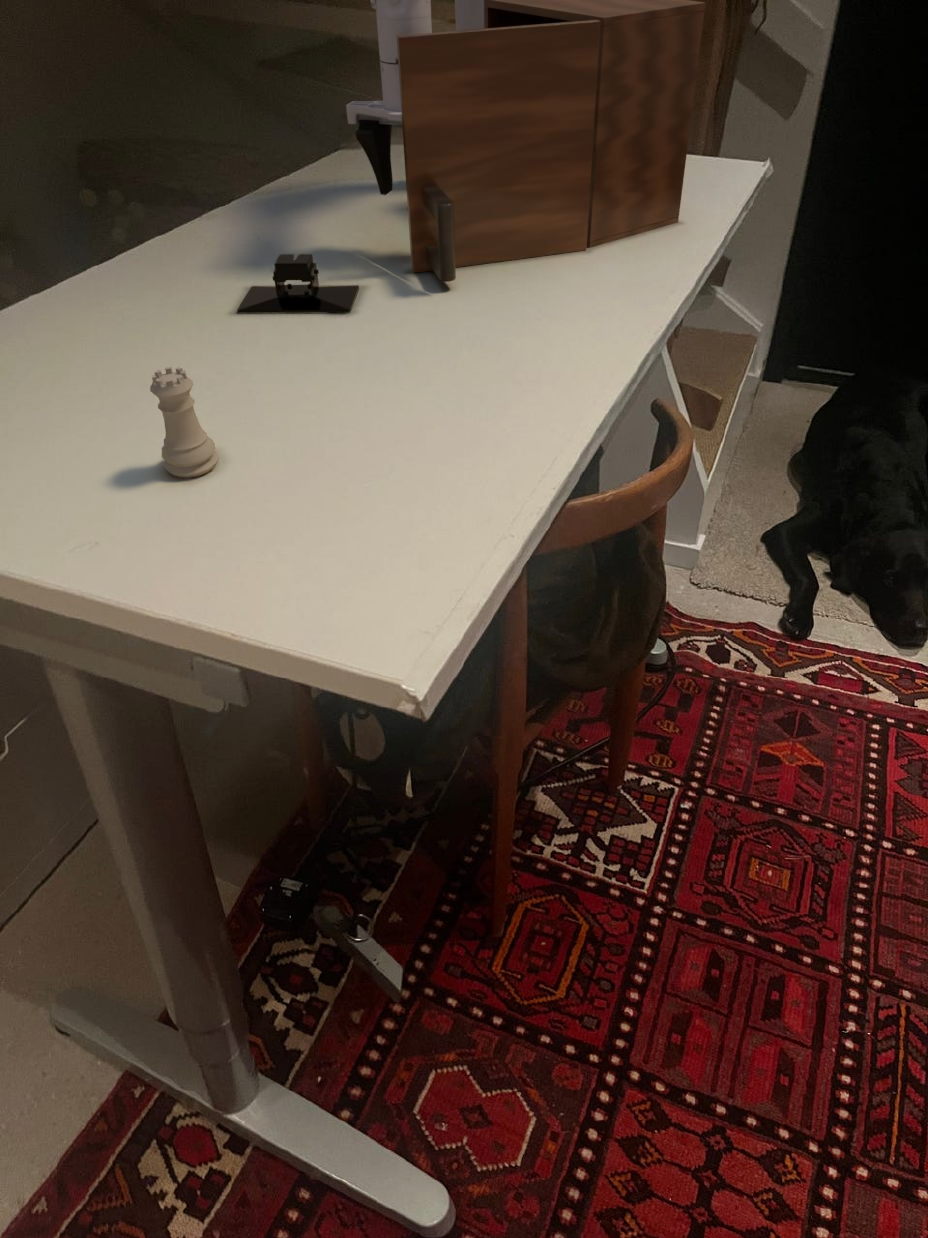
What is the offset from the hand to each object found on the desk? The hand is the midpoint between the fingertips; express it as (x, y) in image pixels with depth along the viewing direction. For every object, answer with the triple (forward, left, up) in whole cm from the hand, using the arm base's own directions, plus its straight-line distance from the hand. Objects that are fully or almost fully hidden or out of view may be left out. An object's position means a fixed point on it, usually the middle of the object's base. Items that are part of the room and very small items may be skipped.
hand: (414, 194), depth 105 cm
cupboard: (+1, +25, -7) cm, 26 cm away
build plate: (+4, -18, -7) cm, 20 cm away
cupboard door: (+12, +5, -7) cm, 14 cm away
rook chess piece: (+30, -41, -7) cm, 51 cm away
